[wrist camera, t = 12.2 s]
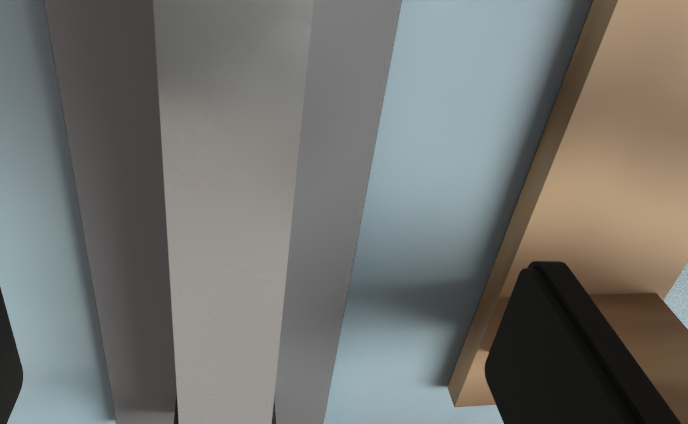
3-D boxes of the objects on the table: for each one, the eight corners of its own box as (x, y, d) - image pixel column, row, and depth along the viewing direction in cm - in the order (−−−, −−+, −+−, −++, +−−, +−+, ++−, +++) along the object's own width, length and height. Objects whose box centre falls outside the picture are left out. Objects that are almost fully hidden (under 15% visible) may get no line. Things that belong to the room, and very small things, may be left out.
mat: (320, 408, 24) (323, 425, 23) (122, 420, 22) (119, 439, 22) (533, -796, 8) (559, -846, 7) (-117, -1066, 6) (-156, -1164, 6)
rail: (272, 406, 22) (278, 497, 19) (177, 412, 21) (168, 507, 18) (381, -700, 8) (468, -990, 5) (101, -800, 7) (10, -1212, 4)
